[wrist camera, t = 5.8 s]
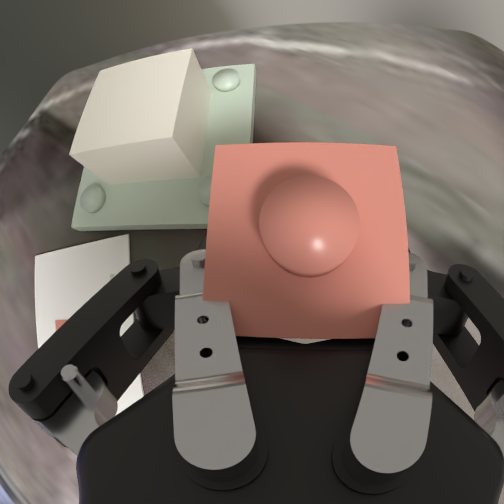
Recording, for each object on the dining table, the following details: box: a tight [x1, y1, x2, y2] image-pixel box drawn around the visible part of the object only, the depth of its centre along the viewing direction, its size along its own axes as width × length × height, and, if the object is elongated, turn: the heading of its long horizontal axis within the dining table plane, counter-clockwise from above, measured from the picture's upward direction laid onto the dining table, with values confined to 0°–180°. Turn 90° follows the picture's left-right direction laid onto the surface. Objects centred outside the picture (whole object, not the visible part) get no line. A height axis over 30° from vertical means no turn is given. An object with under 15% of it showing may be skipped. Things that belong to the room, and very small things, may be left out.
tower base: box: [69, 48, 256, 231], centre depth 17 cm, size 12×12×6 cm
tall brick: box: [203, 142, 410, 339], centre depth 11 cm, size 5×5×11 cm
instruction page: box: [35, 234, 144, 416], centre depth 18 cm, size 9×12×1 cm
